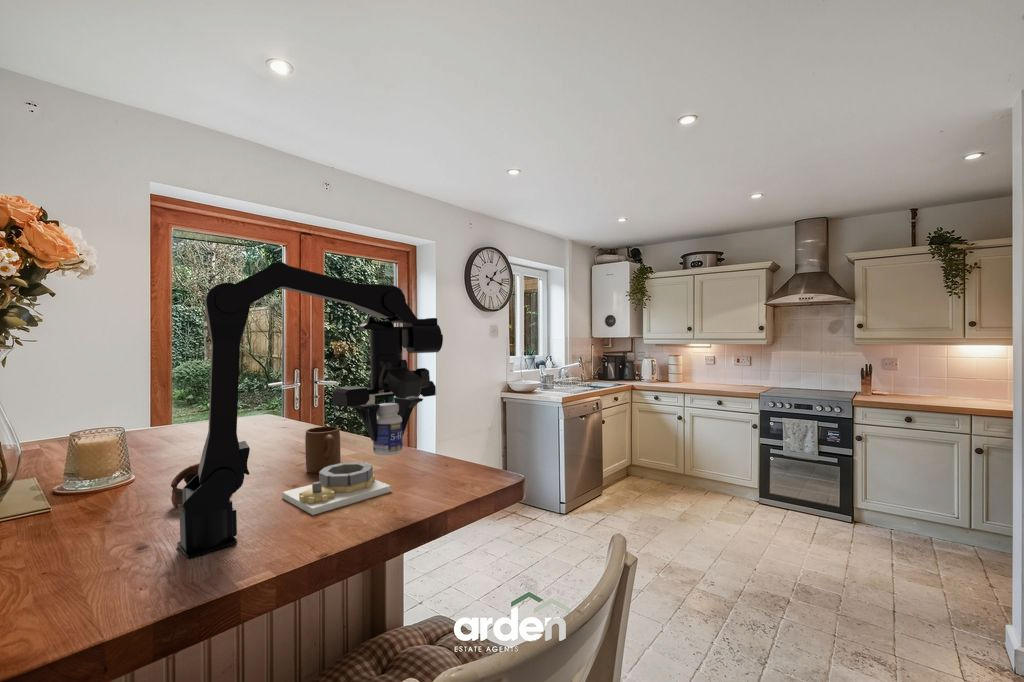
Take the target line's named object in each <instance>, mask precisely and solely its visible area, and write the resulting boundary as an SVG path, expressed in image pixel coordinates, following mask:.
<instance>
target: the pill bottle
mask: <svg viewBox="0 0 1024 682" xmlns="http://www.w3.org/2000/svg"><path fill="white" fill-rule="evenodd" d="M378 405H380V407H379V409H378V411H377V441H372V449H373V450H372V451H373V453H374V454H375V455H377V456H393V455H397V454H400V453H402V452H403V436H402V417H401V416H399V415H398V414H397V412H399V411H398V410H399V404H397V403H394V402H385V403H384V402H383V403H378Z"/></svg>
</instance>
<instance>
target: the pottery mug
mask: <svg viewBox="0 0 1024 682" xmlns="http://www.w3.org/2000/svg"><path fill="white" fill-rule="evenodd" d="M199 465H200V462H199V463H196V464H193V465H189V466H188V467H186V468H184V469H183V470H181V471H180V472H179V473H178V474H176V475H175V476H174V478H173V480H172V481H171V483H170V487H171V489H172V490H171V499H170V500H171V503H172V505H173V507H174V509H176V510H177V509H179V505H183V488H178V485H179V484H180V483H181V482H182V481H183V482H185V485H187V484H188V483H189V482H190V481H191V480H192V479H193V478H194V477H195V476H196V475H197V474H198V469H199Z"/></svg>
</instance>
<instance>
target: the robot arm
mask: <svg viewBox="0 0 1024 682" xmlns="http://www.w3.org/2000/svg"><path fill="white" fill-rule="evenodd" d="M278 289H279V290H280V289H281V290H284V291H285V290H286V291H289V292H290V291H291V292H294V293H299V294H302V295H307V296H312V297H316V298H319V299H320V298H321V299H323V300H329V301H333V302H338V303H342V304H347V305H349V306H350V307H353V308H355V309H356V310H358V311H360V312H363V313H364V314H368V315H370V316H367V317H365V320H364V321H363V322H362V323H361V324H360V325H358V328H357V329H358V330H361V331H366V330H368V331H369V333H370V335H369V337H370V338H369V339H370V340H369V341H370V342H369V343H370V359H366V366H370V381H367V382H366V386H367V387H364V386H363V387H362V386H356V385H353V386H352V385H351V386H343V387H339V386H338V387H335V389H334V391H333V393H332V394H331V395H332V397H331V398H332V404H333V405H337V406H343V407H350V408H354V409H355V411H356V412H357V414H358V415H359V417H360V419H361V421H362V423H363V425H364V427H365V429H366V431H367V433H368V435H369V438H370V440H371V441H372V442H373V441H377V416H378V413H377V411H378V409H379V407H380V405H378V404H379V403H378V404H376V399H382V398H389V397H393V403H397V404H399V410H398V411H399V412H397V414H398V415H399V416H401V417H402V437H404V434H405V432H406V428H407V426H408V422H409V419H410V417H411V415H412V413H413V410H414V408H415V407H416V406H417V404H419V403H421V402H423V400H424V398H426V397H433V396H434V397H435V396H437V387H436V386H437V385H435V383H434V381H432V380H431V376H430V370H429V369H428V368H426V367H421V368H418V367H417V368H416V369H415V370H410V369H409V367H408V366H409V365H408V362H407V359H403V349H406V351H407V353H408V354H427V353H429V354H431V353H433V354H434V353H439V352H440V351H441V349H442V348H443V342H444V334H442V329H441V327H440V325H439V324H438V318H437V317H430V318H429V317H428V318H427V317H426V318H417V316H416V315H415V313H414V312H413V310H412V309H411V307H410V306H409V304H408V303H407V299H406V295H405V294H404V292H403V290H402V289H401V288H400V287H398V286H397V285H391V284H378V283H361V282H360V283H359V282H353V281H349V280H346V279H341V278H338V277H333V276H329V275H326V274H323V273H322V274H321V273H318V272H315V271H311V270H308V269H303V268H299V267H295V266H291V265H288V264H286V263H285V262H281V261H276V262H272V263H270V264H268V265H267V266H266V267H265V268H264V269H262V270H259V271H258V272H255V273H254V274H252V275H249V276H247V277H246V278H244V279H242V280H240V281H238V282H236V283H232V282H221V283H219V284H216V285H215V286H213V287H212V288H210V289H209V291H208V292H207V293H206V296H205V297H204V303H203V304H204V305H203V306H204V310H205V315H206V316H205V317H206V322H207V327H208V333H209V338H210V343H211V344H210V345H211V347H210V348H211V349H210V350H211V351H210V352H211V355H210V376H209V377H210V379H209V381H210V382H209V383H210V384H209V407H208V408H209V409H208V410H209V411H208V432H207V436H206V438H205V439H206V440H205V442H204V445H203V449H202V453H201V457H200V461H199V463H200V465H199V469H198V474H197V475H196V476H195V477H194V478H193V479H192V480H191V481H190V482H189V483H188V484H185V486H183V488H182V489H183V504H182V507H178V509H179V536H180V539H179V541H178V542H177V543H176V545H177V546H176V547H177V548H178V549H179V550H180V551H181V552H182V554H183V555H185V557H186V558H188V559H191V558H195V557H198V556H201V555H204V554H208V553H211V552H215V551H217V550H220V549H224V548H228V547H230V546H234V545H236V544H238V539H237V538H236V536H237V535H238V526H237V525H238V520H237V517H238V516H237V509H235V508H234V507H233V501H232V500H231V498H232V496H233V494H235V493H236V492H238V490H239V489H241V487H242V486H243V484H244V480H245V475H247V476H249V475H250V474H251V473H250V471H249V469H248V459H249V456H250V450H251V448H250V447H249V444H248V442H247V441H246V440H242V441H239V439H238V432H237V431H238V407H239V406H238V404H239V377H240V375H239V374H240V351H241V350H240V349H241V343H242V338H243V335H244V332H245V329H246V325H247V322H248V317H249V313H250V308H251V304H254V303H255V302H256V301H259V300H260V299H262V298H264V297H265V296H267V295H269V294H271V293H273V292H275V290H278ZM374 317H375V318H377V319H378V318H379V319H385V320H376V319H375V318H374ZM394 324H402V326H394ZM420 396H421V397H420ZM422 397H424V398H422ZM231 495H232V496H231Z"/></svg>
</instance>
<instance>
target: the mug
mask: <svg viewBox="0 0 1024 682" xmlns="http://www.w3.org/2000/svg"><path fill="white" fill-rule="evenodd" d="M340 433H341V431H340V427H338V426H317V427H313V428H309V429H307V430H305V437H304V438H305V439H304V441H305V469H306V471H307V473H310V474H319V472H320V471H321V470H322V469H323V468H324V467H327V466H331V465H335V464H339V463H342V462H341V461H342V460H341V434H340Z"/></svg>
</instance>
